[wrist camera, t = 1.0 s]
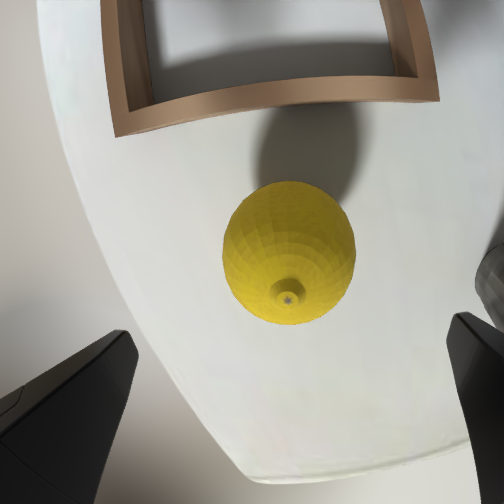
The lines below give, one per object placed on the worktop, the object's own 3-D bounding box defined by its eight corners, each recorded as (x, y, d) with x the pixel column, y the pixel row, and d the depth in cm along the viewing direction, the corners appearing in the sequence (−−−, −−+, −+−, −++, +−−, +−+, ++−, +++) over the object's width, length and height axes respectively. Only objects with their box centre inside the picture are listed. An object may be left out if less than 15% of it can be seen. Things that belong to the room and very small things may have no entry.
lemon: (348, 250, 17) (381, 346, 9) (257, 271, 18) (233, 372, 11) (327, 156, 15) (361, 193, 7) (226, 183, 16) (171, 242, 9)
